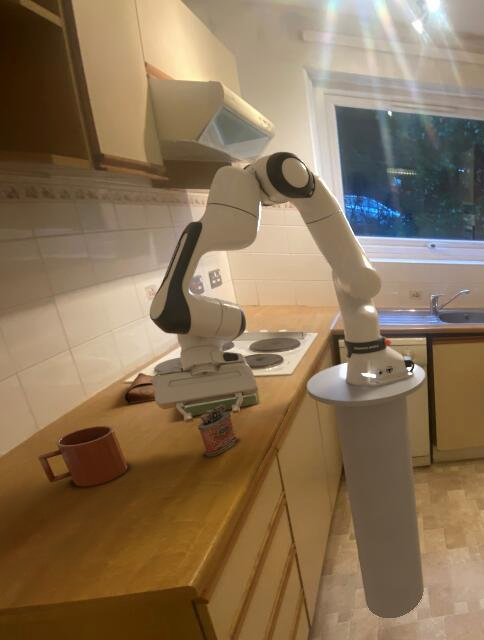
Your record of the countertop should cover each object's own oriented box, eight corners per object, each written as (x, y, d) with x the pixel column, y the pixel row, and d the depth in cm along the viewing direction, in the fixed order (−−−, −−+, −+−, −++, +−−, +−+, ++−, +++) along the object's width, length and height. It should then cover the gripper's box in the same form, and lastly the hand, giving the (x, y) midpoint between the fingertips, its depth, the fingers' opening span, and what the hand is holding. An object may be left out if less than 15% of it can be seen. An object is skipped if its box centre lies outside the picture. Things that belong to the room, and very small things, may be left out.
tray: (255, 388, 136) (253, 380, 135) (257, 403, 126) (255, 395, 125) (188, 399, 128) (186, 391, 127) (185, 417, 118) (182, 408, 117)
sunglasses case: (163, 397, 128) (142, 381, 124) (141, 412, 127) (119, 397, 123) (170, 377, 143) (152, 363, 139) (151, 391, 141) (131, 376, 137)
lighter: (215, 457, 99) (203, 418, 96) (202, 455, 100) (190, 416, 96) (241, 439, 107) (231, 403, 103) (229, 438, 107) (219, 401, 103)
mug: (121, 459, 98) (107, 421, 95) (132, 472, 93) (117, 434, 90) (50, 482, 90) (31, 442, 86) (57, 499, 85) (37, 457, 81)
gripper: (146, 366, 98) (154, 422, 94) (250, 353, 108) (260, 402, 104) (155, 378, 103) (162, 431, 99) (253, 364, 113) (263, 412, 109)
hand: (213, 416), depth 102 cm, fingers open, 8 cm apart
